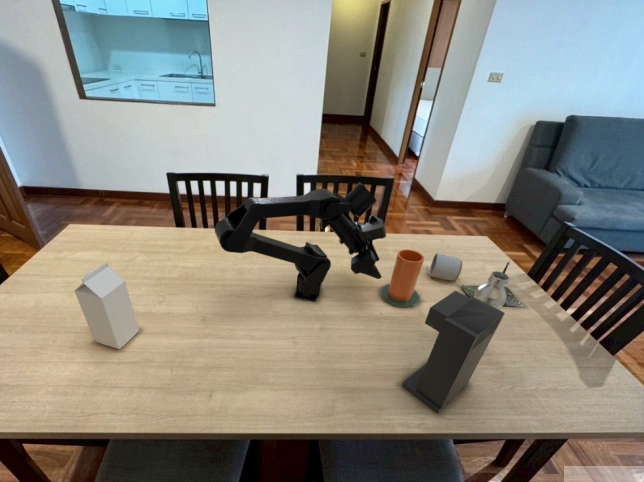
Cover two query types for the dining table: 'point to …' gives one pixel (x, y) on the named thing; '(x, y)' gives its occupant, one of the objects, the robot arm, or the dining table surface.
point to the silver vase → (510, 299)
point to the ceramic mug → (445, 267)
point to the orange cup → (405, 274)
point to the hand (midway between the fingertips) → (379, 268)
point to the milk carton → (107, 307)
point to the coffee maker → (453, 348)
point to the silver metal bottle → (493, 290)
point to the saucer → (402, 304)
